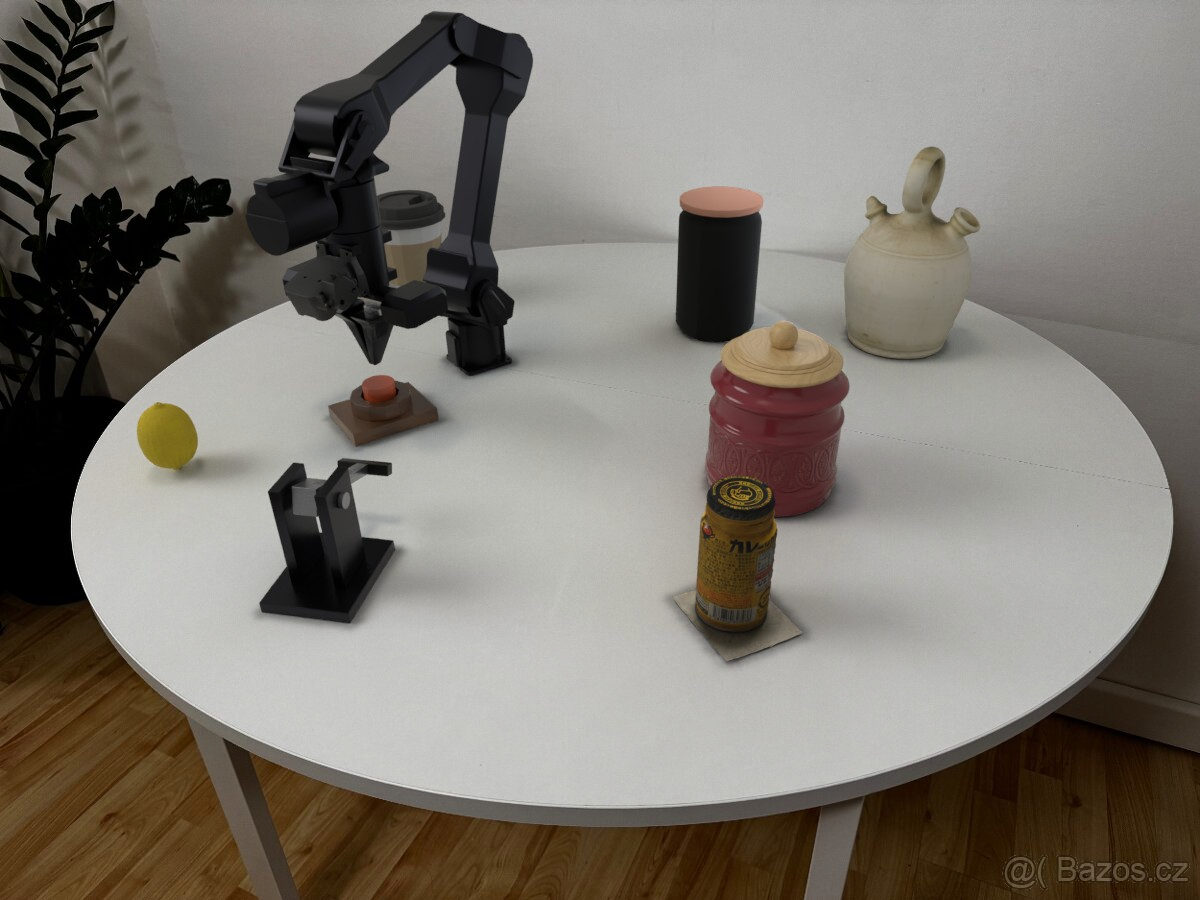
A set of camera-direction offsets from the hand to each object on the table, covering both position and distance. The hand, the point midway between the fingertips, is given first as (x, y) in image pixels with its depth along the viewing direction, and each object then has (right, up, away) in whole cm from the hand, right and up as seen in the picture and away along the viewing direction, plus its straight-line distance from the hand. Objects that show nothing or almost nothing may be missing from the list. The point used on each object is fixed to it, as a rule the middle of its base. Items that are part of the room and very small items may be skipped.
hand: (375, 363), depth 99 cm
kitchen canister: (+42, -13, -8) cm, 45 cm away
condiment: (+36, -24, -25) cm, 50 cm away
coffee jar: (+41, +7, +24) cm, 48 cm away
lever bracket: (+1, -21, -20) cm, 29 cm away
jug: (+64, +5, +20) cm, 67 cm away
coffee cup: (-3, +13, +34) cm, 37 cm away
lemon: (-20, -12, -4) cm, 24 cm away
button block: (0, -6, +4) cm, 7 cm away
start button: (0, -3, +2) cm, 4 cm away
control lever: (+2, -14, -20) cm, 25 cm away
